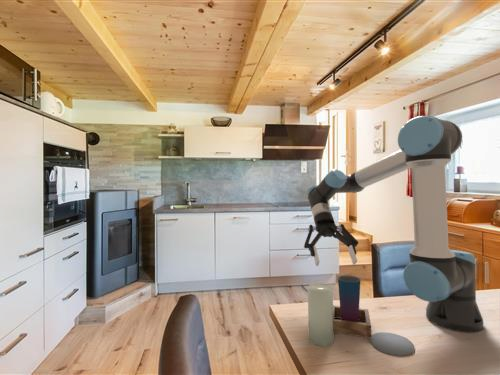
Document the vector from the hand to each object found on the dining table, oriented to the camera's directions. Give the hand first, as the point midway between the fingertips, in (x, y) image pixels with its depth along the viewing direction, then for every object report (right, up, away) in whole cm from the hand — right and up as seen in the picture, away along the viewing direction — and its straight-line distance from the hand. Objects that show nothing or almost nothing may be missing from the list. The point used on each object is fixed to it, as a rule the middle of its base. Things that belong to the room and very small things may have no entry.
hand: (336, 263), depth 101 cm
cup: (+1, -17, -11) cm, 20 cm away
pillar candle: (-10, -17, -18) cm, 27 cm away
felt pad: (+9, -17, -22) cm, 29 cm away
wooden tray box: (+1, -17, -11) cm, 20 cm away
